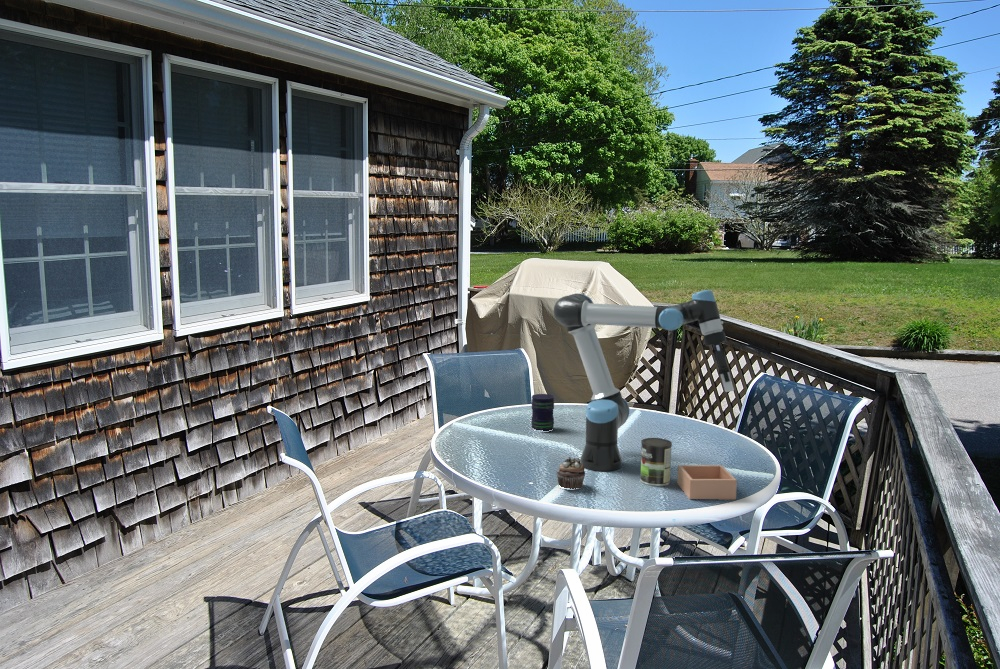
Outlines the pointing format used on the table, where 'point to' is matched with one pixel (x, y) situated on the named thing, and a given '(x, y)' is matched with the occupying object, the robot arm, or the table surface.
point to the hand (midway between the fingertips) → (729, 391)
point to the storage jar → (542, 412)
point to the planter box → (706, 482)
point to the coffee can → (655, 461)
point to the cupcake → (571, 473)
